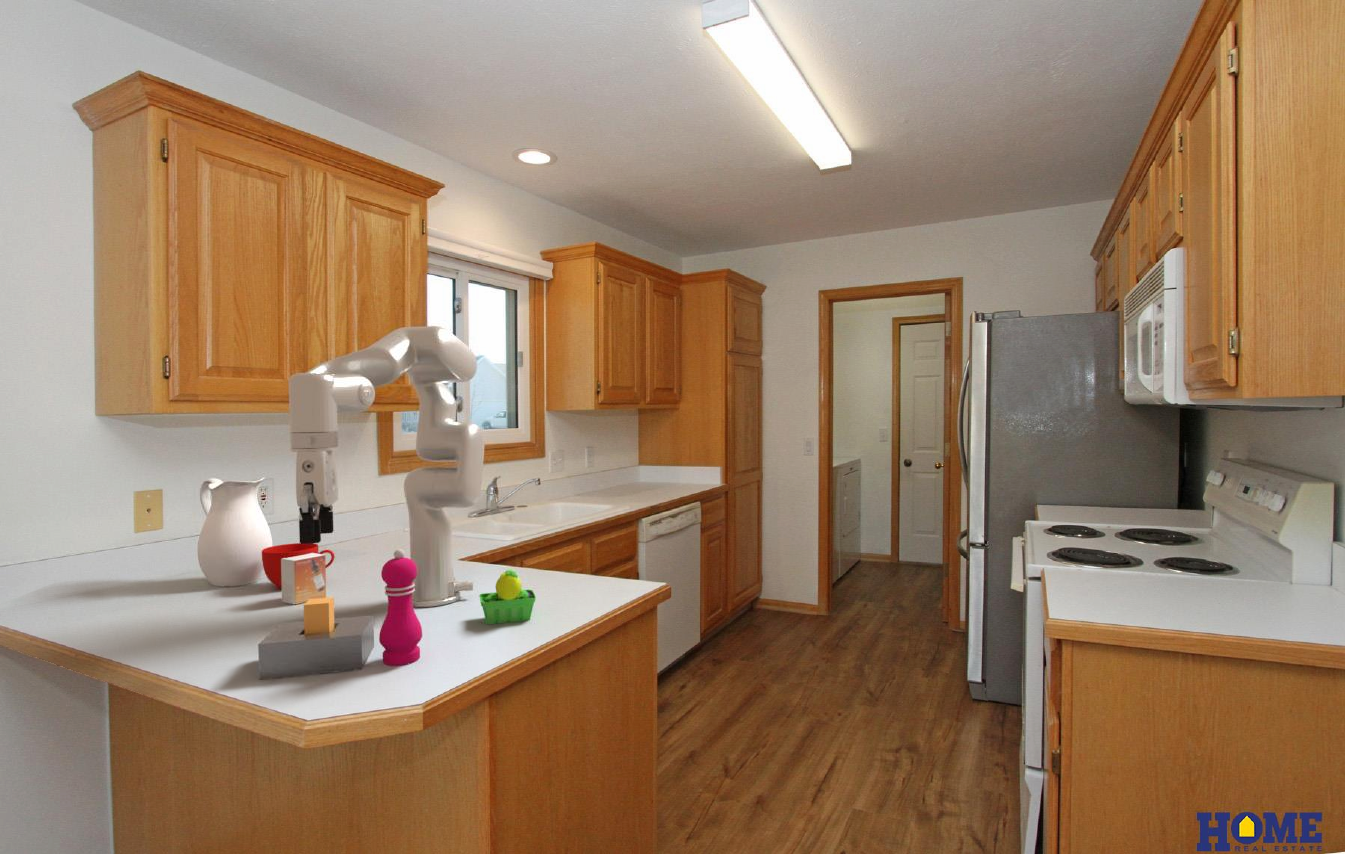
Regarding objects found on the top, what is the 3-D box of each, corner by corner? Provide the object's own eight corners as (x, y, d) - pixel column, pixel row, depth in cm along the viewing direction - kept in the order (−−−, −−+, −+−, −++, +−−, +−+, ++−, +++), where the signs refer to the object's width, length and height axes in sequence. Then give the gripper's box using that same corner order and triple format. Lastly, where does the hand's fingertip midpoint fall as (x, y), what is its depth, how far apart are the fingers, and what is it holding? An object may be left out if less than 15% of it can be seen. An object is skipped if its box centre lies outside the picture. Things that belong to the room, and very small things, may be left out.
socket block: (374, 646, 130) (373, 615, 130) (362, 669, 119) (361, 634, 119) (280, 655, 126) (279, 623, 126) (259, 679, 115) (258, 644, 115)
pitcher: (285, 578, 186) (283, 476, 186) (218, 593, 172) (214, 482, 171) (241, 569, 199) (238, 473, 198) (174, 581, 185) (171, 478, 184)
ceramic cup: (328, 589, 174) (327, 550, 174) (254, 594, 171) (253, 554, 170) (340, 577, 187) (340, 540, 187) (272, 581, 183) (271, 544, 183)
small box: (294, 605, 160) (293, 560, 159) (281, 602, 163) (280, 558, 162) (327, 597, 166) (326, 554, 166) (314, 594, 169) (312, 552, 169)
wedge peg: (335, 656, 125) (333, 597, 125) (330, 664, 121) (328, 603, 121) (311, 659, 124) (309, 599, 124) (305, 667, 120) (303, 604, 120)
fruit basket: (532, 611, 152) (531, 560, 152) (537, 622, 144) (536, 569, 144) (479, 616, 149) (478, 565, 149) (481, 629, 140) (480, 574, 140)
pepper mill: (387, 653, 127) (384, 545, 126) (427, 651, 127) (425, 544, 127) (373, 668, 119) (371, 553, 119) (416, 666, 120) (413, 552, 120)
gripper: (326, 444, 115) (329, 545, 115) (347, 440, 131) (349, 528, 132) (276, 445, 113) (279, 548, 113) (304, 441, 129) (306, 531, 130)
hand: (317, 537), depth 123 cm, fingers open, 9 cm apart
